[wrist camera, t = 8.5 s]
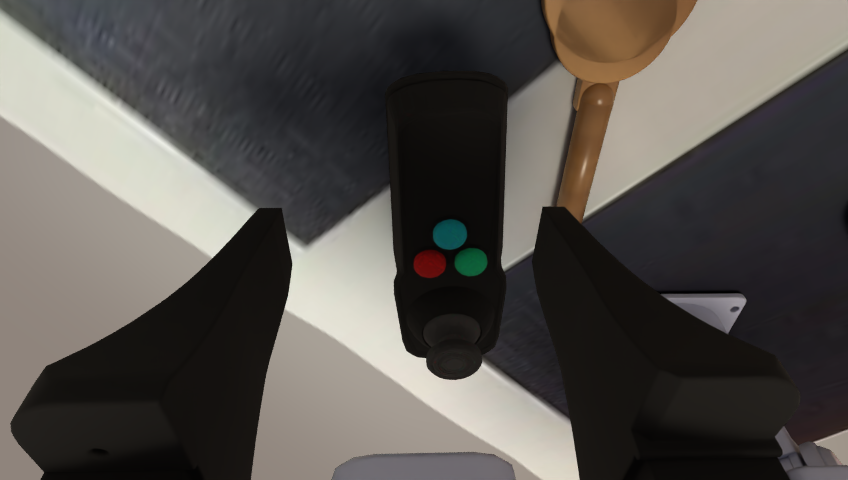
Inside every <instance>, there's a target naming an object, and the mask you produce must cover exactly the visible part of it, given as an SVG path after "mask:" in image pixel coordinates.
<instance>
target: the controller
mask: <svg viewBox="0 0 848 480" xmlns="http://www.w3.org/2000/svg"><path fill="white" fill-rule="evenodd" d="M385 101H386V117H387V134H388V153H389V171H390V190H391V209H392V229H393V249H394V256H395V262H396V268H397V274H396V277H395V279H394V296H395V301H396V307H397V312H398V318H399V324H400V329H401V335H402V340H403V343H404V346H405V348H406V351H407V352H409V353H411V354H412V355H414V356H416V357H421V358H426V363H427V367H428V369H429V370H430V371H431V372H432V373H433V374H434V375H436V376H438V377H439V378H443V379H449V380H457V379H463V378H466V377H468V376H471V375H472V374H474V373H475V372H476V371H477V370H478V369H479V368H480V366H481V364H482V355H483V354H485V353H487V352H489V351H490V350H491V349H493V348H494V347H495V345H496V342H497V339H498V337H499V331H500V325H501V318H502V312H503V306H504V300H505V294H506V275H505V273H504V271H503V268H502V266H501V255H502V248H503V220H504V190H505V161H506V133H507V102H508V88H507V86H506V84H505V82H504V81H502V80H501V79H500V78H498V77H497V76H494V75H492V74H489V73H484V72H477V71H440V72H430V73H420V74H414V75H410V76H407V77H403V78H400V79H399V80H397V81H395V82H394V83H392V84H391V85H390V86H389V87H388V88H387V90H386V93H385Z"/></svg>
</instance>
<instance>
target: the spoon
mask: <svg viewBox="0 0 848 480" xmlns="http://www.w3.org/2000/svg"><path fill="white" fill-rule="evenodd" d="M696 2H697V0H541V5H542V11H543V15H544V18H545V21H546V23H547V25H548V28H549V30H550V36H551V42H552V45H553V48H554V51H555V53H556V55H557V57H558V58H559V60H560V62H561V63H562V64H563V66H564V67H565V68H566V69H567V70H568V71H569V72H570V73H571V74H572V75H574V76H575V77H577V78H578V80H577V85H576V90H575V94H574V99H573V106H574V108H575V110H576V111H577V114H576V119H575V123H574V128H573V132H572V137H571V142H570V146H569V151H568V155H567V160H566V164H565V169H564V174H563V178H562V183H561V187H560V192H559V196H558V201H557V206H556V207H566V209H567V210H568V211H569V212H570V213H571V214H572V215H573V216H574V217H575V218H576V219H577V220H578V221H579V222H580V223H581V224H582V220H583V216H584V212H585V208H586V205H587V201H588V197H589V193H590V189H591V186H592V182H593V178H594V174H595V170H596V167H597V163H598V159H599V155H600V151H601V148H602V144H603V140H604V136H605V132H606V129H607V125H608V121H609V117H610V113H611V110H612V107H613V103H614V99H615V96H616V92H617V88H618V84H619V81H620V80H624V79H626V78H628V77H631V76H633V75H635V74H636V73H638V72H640V71H641V70H643V69H644V68H645V67H647V66H648V65H649V64H650V63H651V62H652V61H653V60H654V59H655V58H656V57H657V56H658V55H659V54H660V53H661V51H662V50H663V49H664V47H665V46H666V44H667V43H668V41H669V39H670V37H671V36H672V35H673V34H674V33H675V32H676V31H677V30H678V29H679V28H680V27H681V25H682V24H683V23H684V22H685V20H686V19H687V17H688V16H689V14H690V13H691V11H692V10H693V8H694V6H695V4H696Z"/></svg>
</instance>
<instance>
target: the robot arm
mask: <svg viewBox="0 0 848 480" xmlns="http://www.w3.org/2000/svg"><path fill="white" fill-rule="evenodd" d="M532 265H533V271H534V277H535V283H536V289H537V294H538V297H539V300H540V303H541V307H542V310H543V313H544V316H545V320H546V323H547V326H548V329H549V332H550V335H551V338H552V342H553V345H554V348H555V351H556V354H557V357H558V361H559V365H560V369H561V373H562V378H563V383H564V388H565V393H566V398H567V403H568V409H569V415H570V420H571V426H572V432H573V438H574V444H575V451H576V457H577V464H578V470H579V478H580V480H848V466H847V465H842V463H841V462H840V461H839V460H838V458H837V457H836V456H835V454H834V453H833V452H832V451H831V450H829V449H826V448H823V447H820V446H817V445H816V444H815V443H813V442H806V443H803V444H800V445H799V446H798V445H797V444H796V443H795V442H794V441H793V440H792V439H791V437H790V435H789V434H788V432H787V430H786V429H785V427H784V425H785V424H786V423H787V422H788V421H789V419H790V418H791V417H792V416H793V414H794V413H795V411H796V409H797V408H798V406H799V404H800V393H799V391H798V389H797V387H796V385H795V384H794V382H793V381H792V379H791V378H790V376H789V375H788V373H787V372H786V370H785V369H784V367H783V366H782V364H781V363H780V361H779V360H778V359H777V358H776V356H775V355H773V354H771V353H769V352H766V351H764V350H762V349H760V348H757V347H755V346H753V345H751V344H748V343H746V342H744V341H741V340H739V339H737V338H735V337H733V336H731V335H729V334H728V332H729V331H730V329H731V327H732V326H733V324H734V322H735V320H736V319H737V317H738V315H739V314H740V312H741V310H742V308H743V307H744V305H745V303H746V298H745V297H744V295H742V294H739V293H731V294H659V293H658V292H657V291H655V290H654V289H653V288H651V287H650V286H648V285H647V284H646V283H644V282H643V281H642V280H641V279H639V278H638V277H637V276H636V275H634V274H633V273H632V272H631V271H630V270H628V269H627V268H626V267H625V266H624V265H623V264H622V263H620V262H619V261H618V260H617V259H616V258H615V257H614V256H613V255H612V254H610V253H609V252H608V251H607V250H606V249H605V248H604V247H603V246H602V245H601V244H600V243H599V242H598V241H597V240H596V239H595V238H594V237H593V236H592V235H591V234H590V233H589V232H588V231H587V230H586V229H585V227H584V226H583V225H582V224H581V223H580V222H579V221H578V220H577V219H576V218H575V217H574V216H573V215H572V214H571V213H570V212H569V211H568V210H567V209H566V207H543V208H542V213H541V218H540V223H539V229H538V234H537V239H536V244H535V249H534V254H533V259H532ZM291 270H292V259H291V254H290V249H289V244H288V239H287V234H286V228H285V223H284V218H283V213H282V208H259V209H258V210H257V211H256V212H255V213H254V214H253V215H252V216H251V217H250V218H249V220H248V221H247V222H246V223H245V224H244V225H243V226H242V227H241V229H240V230H239V231H238V232H237V233H236V234H235V235H234V236H233V237H232V239H231V240H230V241H229V242H228V243H227V244H226V245H225V246H224V247H223V248H222V249H221V250H220V251H219V252H218V253H217V254H216V255H215V256H214V257H213V258H212V259H211V260H210V261H209V262H208V263H207V264H206V265H205V266H204V267H203V268H202V269H201V270H200V271H199V272H198V273H197V274H196V275H194V276H193V277H192V278H191V279H190V280H189V281H188V282H187V283H185V284H184V285H183V286H182V287H181V288H179V289H178V290H177V291H175V292H174V293H173V294H171V295H170V296H169V297H168V298H166V299H165V300H163V301H162V302H161V303H159V304H158V305H156V306H155V307H153V308H152V309H150V310H149V311H147V312H146V313H144V314H143V315H141V316H140V317H138V318H137V319H135V320H134V321H132V322H131V323H129V324H127V325H126V326H124V327H122V328H121V329H119V330H117V331H116V332H114V333H112V334H110V335H108V336H107V337H105V338H103V339H101V340H100V341H98V342H96V343H94V344H92V345H90V346H88V347H86V348H84V349H82V350H80V351H78V352H76V353H73V354H71V355H69V356H67V357H65V358H63V359H61V360H59V361H57V362H55V363H52V364H50V365H48V366H46V367H45V369H44V370H43V371H42V373H41V374H40V376H39V377H38V379H37V380H36V382H35V383H34V385H33V386H32V388H31V390H30V391H29V393H28V394H27V396H26V398H25V399H24V401H23V403H22V404H21V406H20V408H19V409H18V411H17V412H16V414H15V416H14V417H13V419H12V421H11V423H10V424H11V432H12V434H13V436H14V438H15V439H16V440H17V442H18V444H19V445H20V446H21V447H22V448H23V449H24V450H25V452H26V453H27V454H28V455H29V456H30V457H31V458H32V459H33V460H34V461H35V462H36V464H37V465H38V466H39V467H40V468H41V469H42V470H43V471H44V474H43V476H42V478H41V480H251V473H252V465H253V457H254V450H255V441H256V435H257V427H258V421H259V415H260V408H261V402H262V396H263V390H264V384H265V378H266V373H267V369H268V365H269V361H270V357H271V354H272V350H273V347H274V343H275V340H276V336H277V332H278V329H279V326H280V322H281V318H282V315H283V312H284V308H285V304H286V301H287V297H288V292H289V285H290V278H291ZM331 480H516V479H515V474H514V470H513V467H512V465H511V464H510V463H508V462H507V461H505V460H503V459H501V458H499V457H498V456H496V455H493V454H485V453H477V452H463V453H462V452H458V453H414V454H413V453H410V454H373V455H366V456H359V457H354V458H352V459H350V460H348V461H346V462H345V463H343V464H341V465H339V466H338V467H337V468H336V469H335V471H334V474H333V477H332V479H331Z"/></svg>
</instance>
